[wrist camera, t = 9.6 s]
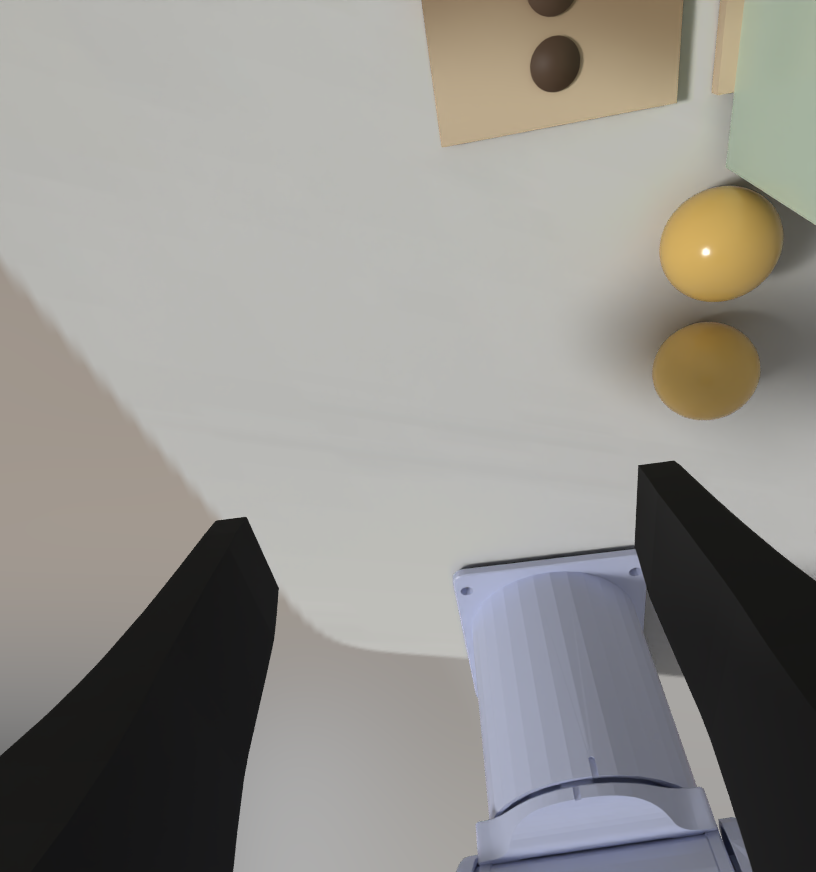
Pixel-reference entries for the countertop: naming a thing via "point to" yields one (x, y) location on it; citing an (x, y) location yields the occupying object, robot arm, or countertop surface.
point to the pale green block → (777, 103)
